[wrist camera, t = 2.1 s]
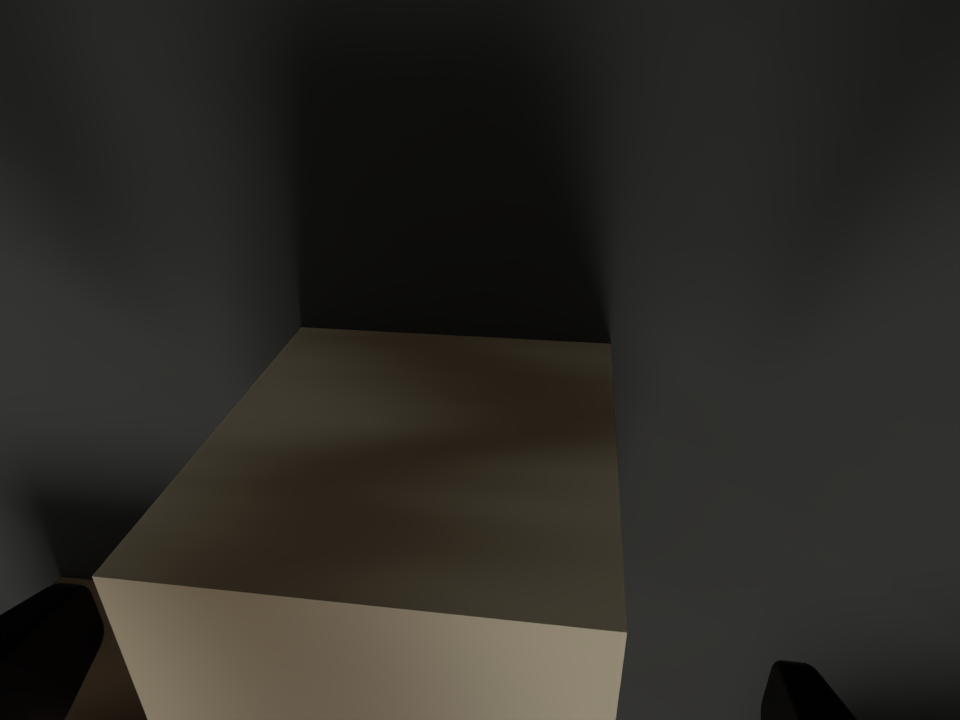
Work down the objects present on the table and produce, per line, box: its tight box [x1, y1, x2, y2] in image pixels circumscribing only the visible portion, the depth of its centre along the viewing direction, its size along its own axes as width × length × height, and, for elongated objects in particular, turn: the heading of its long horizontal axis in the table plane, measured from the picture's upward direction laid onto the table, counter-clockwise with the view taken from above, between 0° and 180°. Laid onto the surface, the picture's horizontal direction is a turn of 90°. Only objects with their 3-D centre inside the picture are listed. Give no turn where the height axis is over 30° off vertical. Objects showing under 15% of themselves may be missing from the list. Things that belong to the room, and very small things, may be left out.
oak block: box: [92, 327, 627, 720], centre depth 10 cm, size 5×5×6 cm
